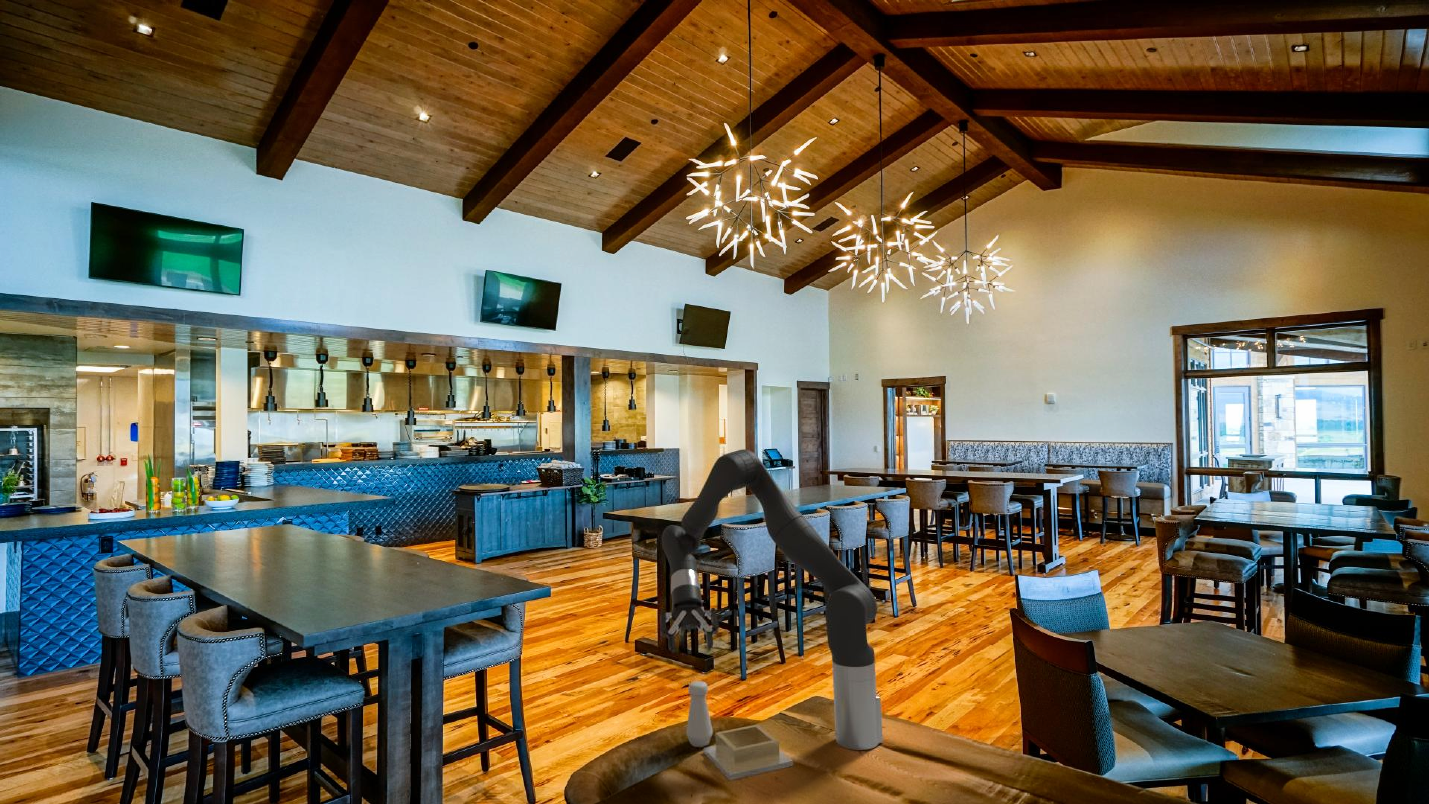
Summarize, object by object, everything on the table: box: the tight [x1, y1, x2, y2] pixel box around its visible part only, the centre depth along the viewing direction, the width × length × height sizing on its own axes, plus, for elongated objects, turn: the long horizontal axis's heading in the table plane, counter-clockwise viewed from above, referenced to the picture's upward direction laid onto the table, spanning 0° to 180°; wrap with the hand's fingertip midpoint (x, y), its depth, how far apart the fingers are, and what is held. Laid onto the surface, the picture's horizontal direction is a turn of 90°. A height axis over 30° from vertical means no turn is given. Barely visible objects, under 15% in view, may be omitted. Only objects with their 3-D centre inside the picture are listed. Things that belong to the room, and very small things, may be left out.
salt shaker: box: [685, 680, 714, 748], centre depth 154 cm, size 6×6×13 cm
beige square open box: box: [703, 724, 794, 781], centre depth 145 cm, size 14×14×4 cm
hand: (691, 650), depth 166 cm, fingers open, 8 cm apart
